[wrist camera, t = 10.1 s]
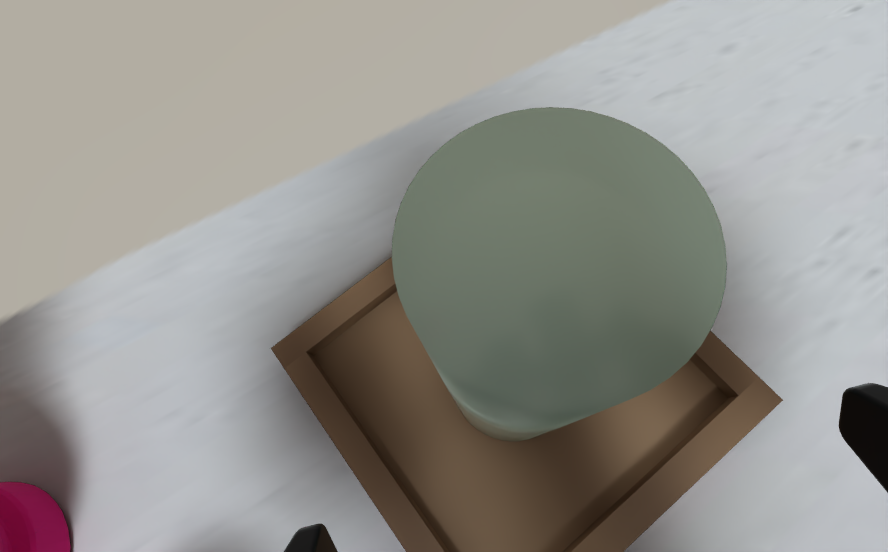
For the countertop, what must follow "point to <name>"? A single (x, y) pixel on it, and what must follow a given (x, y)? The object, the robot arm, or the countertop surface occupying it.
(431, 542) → the walnut tray
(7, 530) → the pepper mill
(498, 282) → the sage cylinder
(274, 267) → the countertop surface
